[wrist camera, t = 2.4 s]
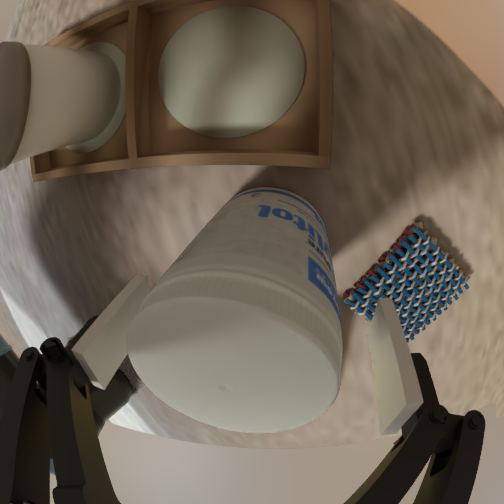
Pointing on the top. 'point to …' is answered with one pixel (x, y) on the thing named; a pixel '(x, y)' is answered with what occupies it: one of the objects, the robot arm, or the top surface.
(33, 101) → the canister
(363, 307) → the woven mat
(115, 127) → the crate
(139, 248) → the top surface
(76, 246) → the top surface
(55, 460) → the robot arm
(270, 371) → the supplement tub
